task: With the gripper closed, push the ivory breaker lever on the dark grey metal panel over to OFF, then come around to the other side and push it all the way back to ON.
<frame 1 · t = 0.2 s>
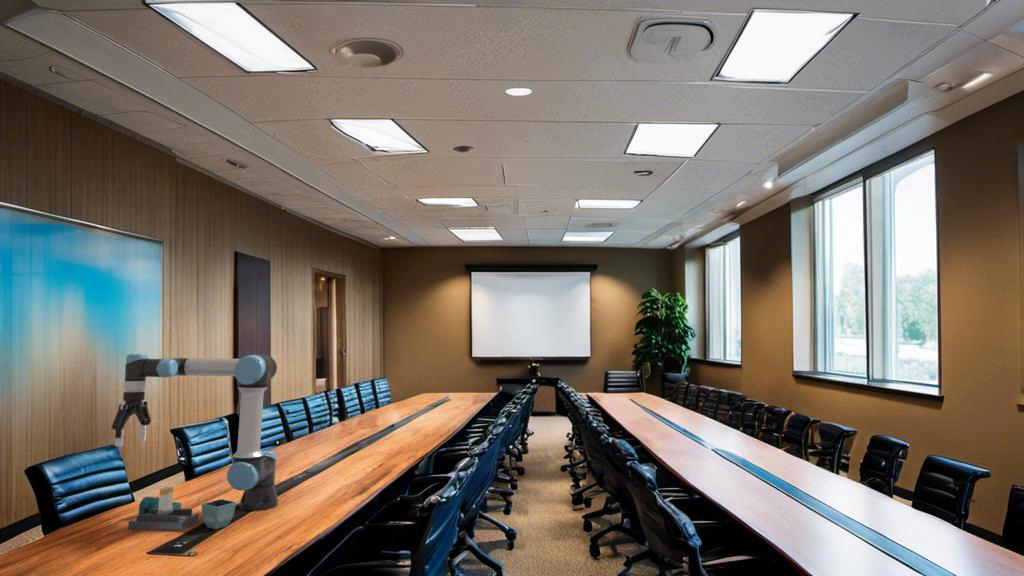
hand: (130, 443, 248), 28 cm above the table, fingers open, 13 cm apart
flower pot: (217, 527, 229), on the table
bracket: (162, 514, 247), on the table
breaker panel: (164, 525, 231), on the table
dark grey rectangular piece: (164, 514, 231), on the breaker panel, point 3 cm above the table
breaker lever: (165, 502, 231), point 9 cm above the table, hinge at 0.0°
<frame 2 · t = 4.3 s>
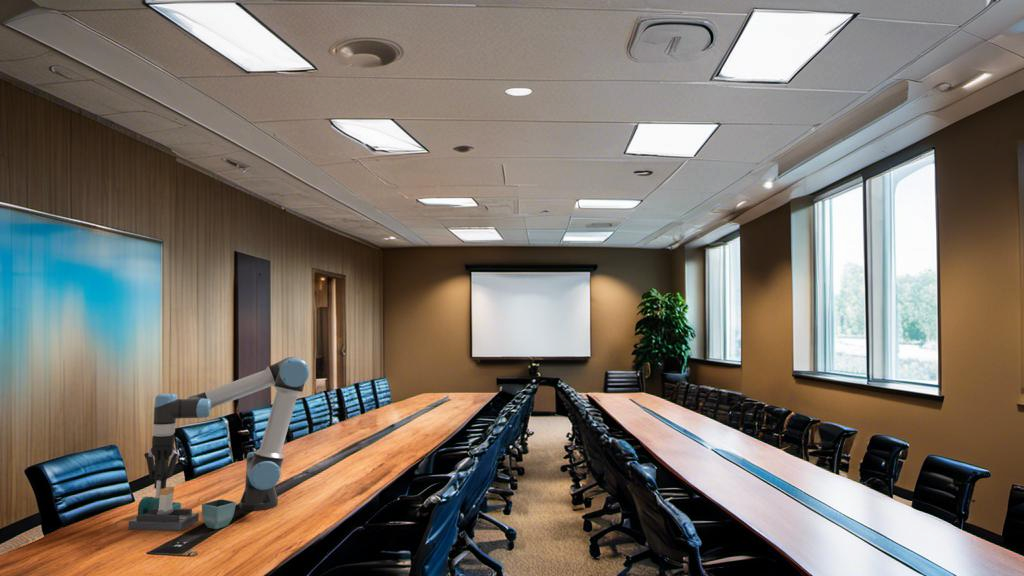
hand: (159, 497, 232), 10 cm above the table, fingers closed
breaker lever: (166, 502, 231), point 9 cm above the table, hinge at -1.8°, touching gripper
everything else where it was.
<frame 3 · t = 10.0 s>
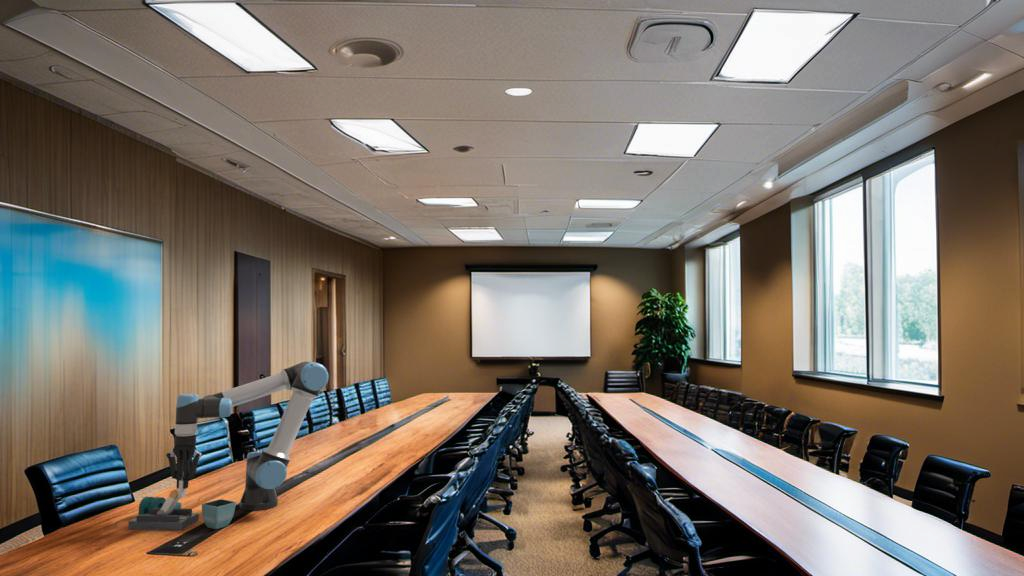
hand: (181, 497, 231), 11 cm above the table, fingers closed
breaker lever: (170, 503, 231), point 8 cm above the table, hinge at -29.0°, touching gripper
everything else where it was.
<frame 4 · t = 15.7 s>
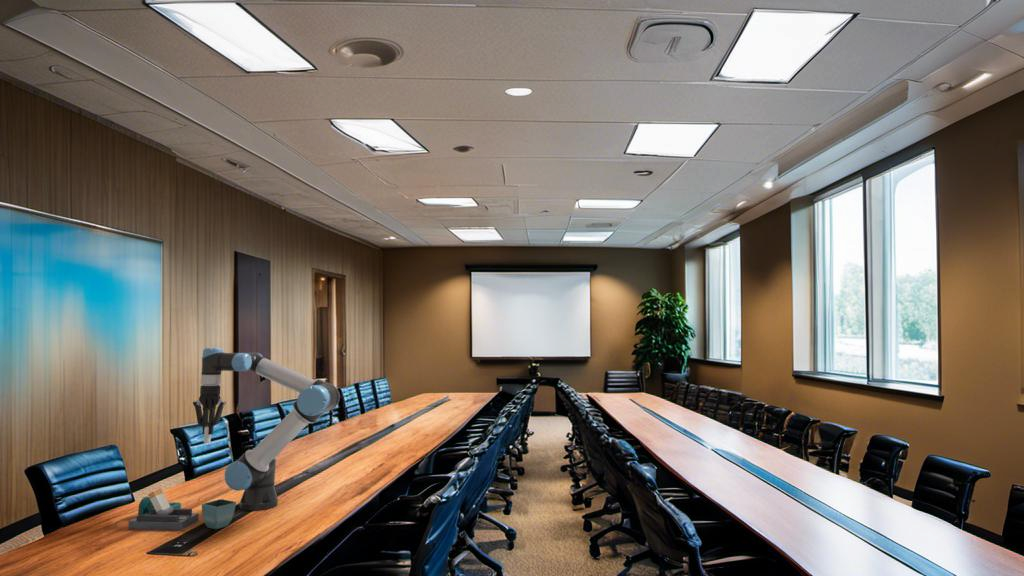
hand: (207, 442, 250), 28 cm above the table, fingers closed
breaker lever: (160, 503, 231), point 8 cm above the table, hinge at 31.0°
everything else where it was.
at the end: breaker lever at +31° (first picture: +0°) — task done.
